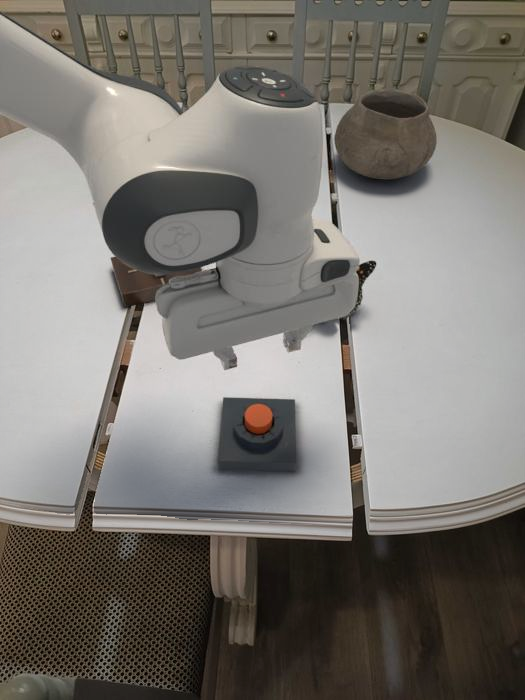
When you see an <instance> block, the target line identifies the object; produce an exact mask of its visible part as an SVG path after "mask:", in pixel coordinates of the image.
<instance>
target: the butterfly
mask: <svg viewBox="0 0 525 700" xmlns="http://www.w3.org/2000/svg"><path fill="white" fill-rule="evenodd" d="M376 267H377V262H376V260H368V261H365V262H362V263H359V267H358V269H357V271H356V273H357V275H358V278H359V287H358V295H357V301H356V305H355V307H354V309H353V310H352V311H351V312H350V313H349V314H348V315H347V316H345V317H341V318H337V320H340V319H342V320H345V319H348V318H350V317H351V316H353V315H354V314H355V312H356V311H357V310H358V308H359V307H360V306H361V305H362V301H363V298H364V296H363V286H364V284H365V282H366V280H367V279H368V278H369V277H370V276H371V275H372V273H373V272H374V271H375V270H376Z"/></svg>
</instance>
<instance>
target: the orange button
mask: <svg viewBox="0 0 525 700" xmlns="http://www.w3.org/2000/svg"><path fill="white" fill-rule="evenodd" d="M272 417H273V415H272V411H271V410H270V409H269V408H268V407H267V406H265V405H263V404H254V405H252V406H250V407H249V408H248V409H247V410H246V412H245V426H246V428H247V429H248V430H249V431H250V432H252V433H254V434H263V433H265V432H267V431H268V430H269V429H270V428H271V426H272Z"/></svg>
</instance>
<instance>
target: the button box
mask: <svg viewBox="0 0 525 700" xmlns="http://www.w3.org/2000/svg"><path fill="white" fill-rule="evenodd" d="M254 404H263V405H265V406H267V407H268V408H269V409H270V410H271V411H272V415H273V417H272V426H271V428H270V429H269V430H268V431H267V432H265V433H263V434H254V433H252V432H250V431H249V430H248V429H247V428H246V426H245V412H246V410H247V409H248V408H249V407H250V406H252V405H254ZM221 410H222V411H221V418H220V419H221V420H220V432H219V441H218V442H219V443H218V455H217V467H218V470H223V471H224V470H229V471H230V470H231V471H260V472H261V471H262V472H263V471H264V472H296V469H297V463H298V461H297V429H296V424H297V423H296V422H297V421H296V399H294V398H293V399H291V398H261V397H229V396H227V397H222V407H221Z"/></svg>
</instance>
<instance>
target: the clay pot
mask: <svg viewBox="0 0 525 700" xmlns="http://www.w3.org/2000/svg"><path fill="white" fill-rule="evenodd" d="M333 138H334V139H333V140H334V146H335V150H336V153H337V156H338V157H339V158H340V160H341V161H342V163H343V164H344V165H345V166H346V167H347V168H349V170H351V171H353V172H355V173H356V174H359V175H360V176H364V177H367V178H372V179H375V180H395V179H397V180H398V179H401V178H404V177H407V176H411V175H413V174H414V173H416V172H417V171H419V170H421V169H422V168H424V167H425V166H426V165H427V164H428V162H429V161H430V160H431V159H432V158H433V156H434V153H435V151H436V147H437V144H438V143H437V131H436V128H435V125H434V123H433V121H432V119H431V117H430V107H429V105H428V103H427V102H426V100H425V99H424V98H422V97H421V96H419V95H417V94H415V93H413V92H409V91H407V90H401V89H398V88H379V89H378V88H377V89H372V90H368V91H366V92H364V93H362V94H361V95H360V96H359V97H358V99H357V100H356V101H355V103H354V104H353V105H352V107H350V108H349V109H348V110H347V111H346V112H345V113H344V114H343V115H342V117H341V118H340V120H339V122H338V124H337V126H336V129H335V133H334V137H333Z"/></svg>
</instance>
